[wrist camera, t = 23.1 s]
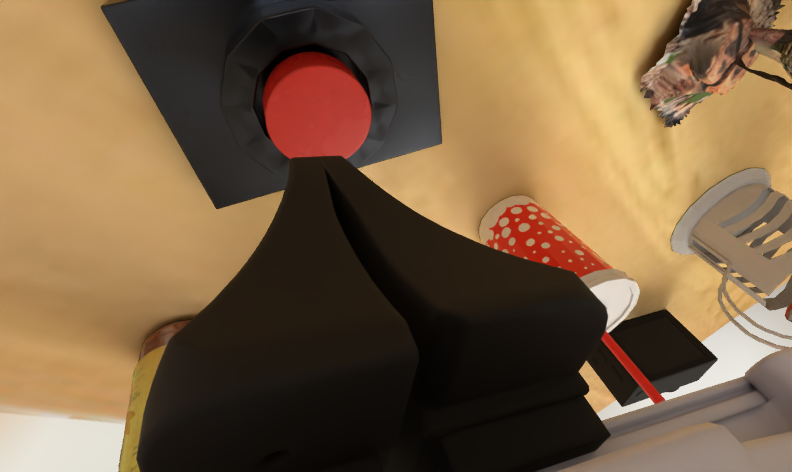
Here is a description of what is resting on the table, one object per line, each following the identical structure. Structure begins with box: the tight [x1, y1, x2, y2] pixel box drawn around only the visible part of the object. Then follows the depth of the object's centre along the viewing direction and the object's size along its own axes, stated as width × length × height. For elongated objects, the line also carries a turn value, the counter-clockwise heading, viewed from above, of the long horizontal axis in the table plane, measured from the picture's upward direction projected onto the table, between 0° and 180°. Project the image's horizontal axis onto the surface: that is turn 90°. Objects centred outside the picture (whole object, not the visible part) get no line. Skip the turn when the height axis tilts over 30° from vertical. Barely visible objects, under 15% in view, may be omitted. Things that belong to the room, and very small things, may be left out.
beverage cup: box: [479, 195, 665, 404], centre depth 23 cm, size 6×6×14 cm
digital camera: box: [587, 310, 718, 407], centre depth 44 cm, size 10×5×7 cm, turn 90°
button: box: [263, 52, 371, 159], centre depth 16 cm, size 4×4×2 cm
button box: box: [101, 0, 442, 209], centre depth 17 cm, size 12×9×3 cm
